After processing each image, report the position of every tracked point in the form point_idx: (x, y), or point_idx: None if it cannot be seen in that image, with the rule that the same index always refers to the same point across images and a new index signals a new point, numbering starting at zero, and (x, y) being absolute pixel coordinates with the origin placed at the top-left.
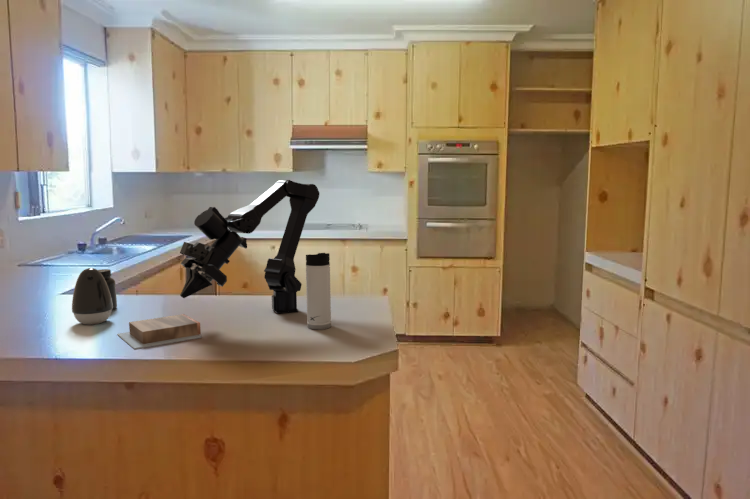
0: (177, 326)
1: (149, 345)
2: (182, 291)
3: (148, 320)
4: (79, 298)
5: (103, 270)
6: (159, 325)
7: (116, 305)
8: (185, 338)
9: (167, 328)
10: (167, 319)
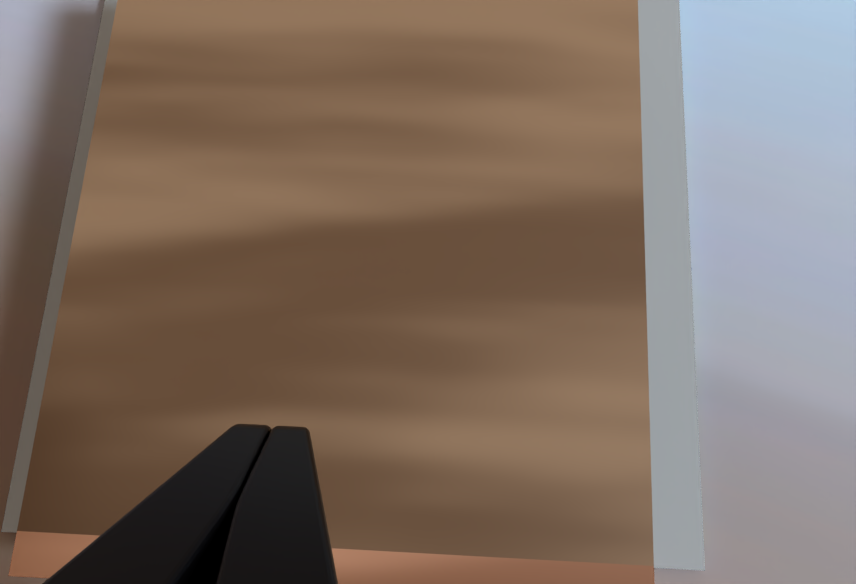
0: (66, 283)
1: (96, 50)
2: (270, 481)
3: (582, 134)
4: None
5: None
6: (258, 148)
7: None
8: None
9: (85, 176)
10: (480, 315)
